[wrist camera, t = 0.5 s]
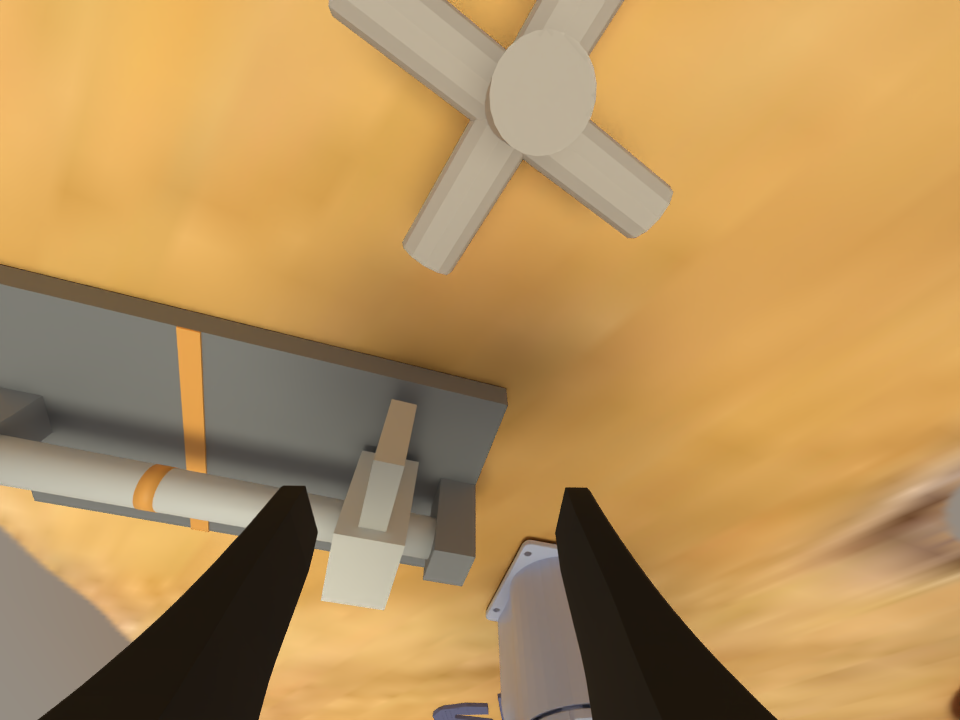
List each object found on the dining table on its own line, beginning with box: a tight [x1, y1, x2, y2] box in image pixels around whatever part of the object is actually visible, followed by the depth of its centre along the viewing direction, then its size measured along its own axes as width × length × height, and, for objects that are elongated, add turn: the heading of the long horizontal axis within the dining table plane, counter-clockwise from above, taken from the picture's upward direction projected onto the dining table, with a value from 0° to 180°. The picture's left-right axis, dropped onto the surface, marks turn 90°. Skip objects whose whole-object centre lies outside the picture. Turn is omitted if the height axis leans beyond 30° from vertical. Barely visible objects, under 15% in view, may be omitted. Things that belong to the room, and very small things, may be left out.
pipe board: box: [0, 265, 508, 586], centre depth 21 cm, size 14×24×6 cm, turn 73°
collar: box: [321, 399, 419, 610], centre depth 20 cm, size 9×3×5 cm, turn 163°
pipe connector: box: [329, 0, 673, 275], centre depth 11 cm, size 10×10×10 cm
